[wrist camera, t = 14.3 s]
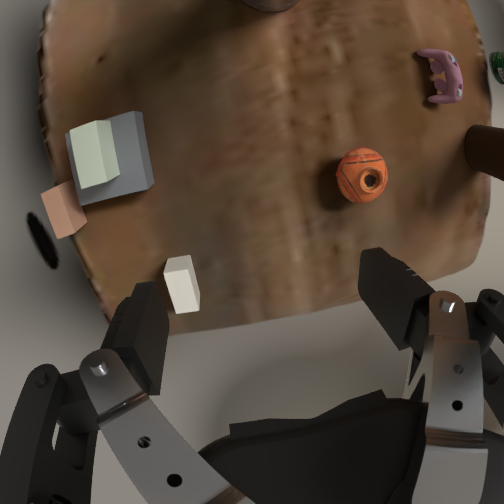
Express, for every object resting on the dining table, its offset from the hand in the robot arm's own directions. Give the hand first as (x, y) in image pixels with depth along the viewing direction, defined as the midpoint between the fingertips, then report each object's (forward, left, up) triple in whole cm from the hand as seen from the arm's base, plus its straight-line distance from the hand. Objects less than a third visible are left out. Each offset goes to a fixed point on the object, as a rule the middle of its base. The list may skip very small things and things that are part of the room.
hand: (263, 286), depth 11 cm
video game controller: (-14, +36, -29) cm, 48 cm away
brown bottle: (-2, +49, -29) cm, 57 cm away
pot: (+2, +18, -29) cm, 34 cm away
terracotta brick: (0, -24, -29) cm, 38 cm away
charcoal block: (-5, -15, -29) cm, 33 cm away
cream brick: (+15, -9, -29) cm, 34 cm away
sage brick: (-6, -15, -25) cm, 30 cm away
